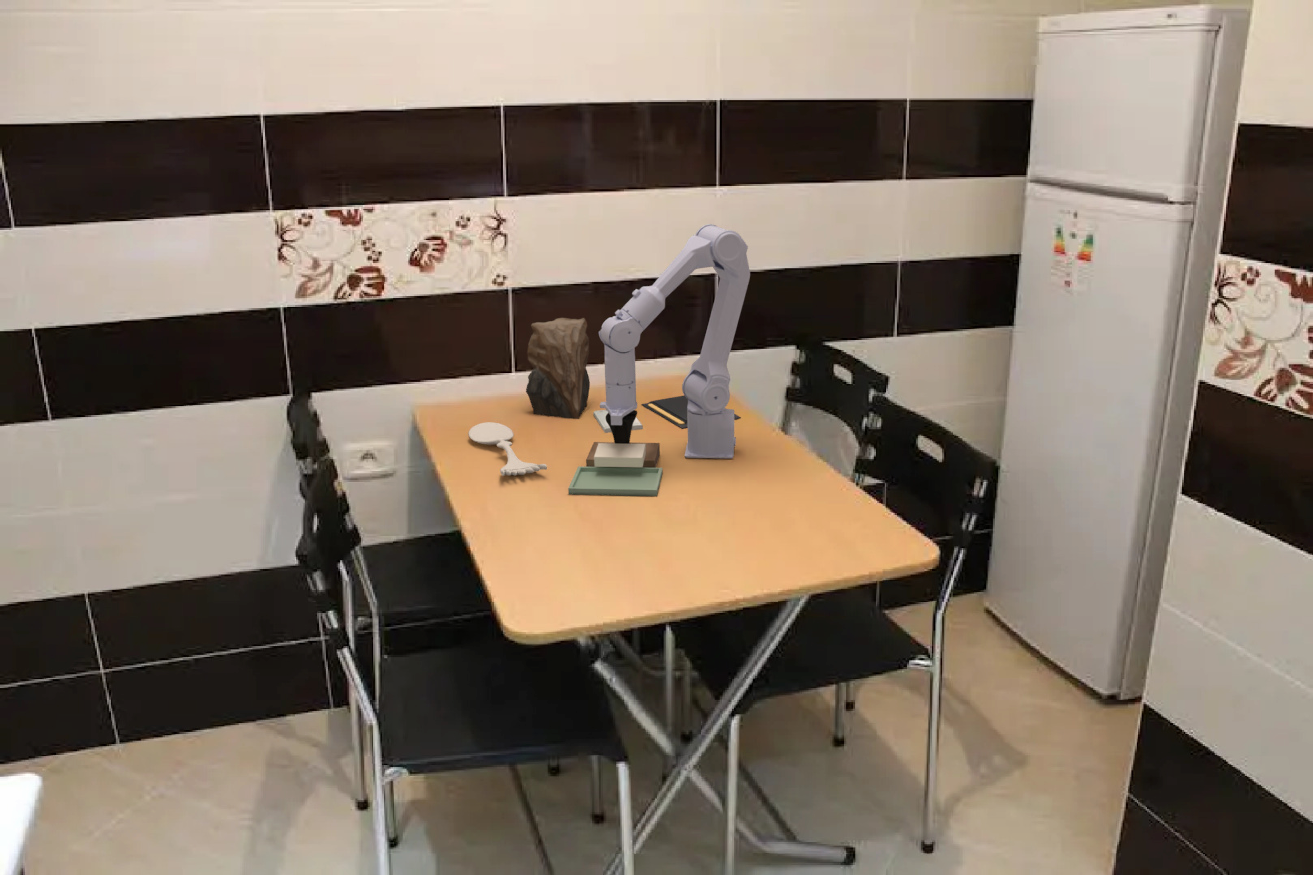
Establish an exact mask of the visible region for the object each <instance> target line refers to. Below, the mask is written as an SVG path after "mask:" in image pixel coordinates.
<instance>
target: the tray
mask: <svg viewBox="0 0 1313 875" xmlns="http://www.w3.org/2000/svg"><path fill="white" fill-rule="evenodd" d="M663 470H664V469H663V467H656V468H646V467H586V465H585V466H582V465H581V466H577V468H576V470H575V472H574V475H573V477H572V479H571V480H570V483H569V485H568V488H567V490H568V495H571V496H573V495H574V496H577V495H578V496H579V495H580V496H581V495H582V496H586V495H587V496H627V497H628V496H629V497H631V496H632V497H658V494H659V490H660V486H661V481H662V478H663V474H664V473H663Z"/></svg>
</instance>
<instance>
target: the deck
mask: <svg viewBox="0 0 1313 875" xmlns="http://www.w3.org/2000/svg"><path fill="white" fill-rule="evenodd" d="M598 443H615V442H614V441H594V442H593V444H592V446H591V448H590V450H589V452H588V453H587V457H586V459H585V467H595V466H594V455H595V452H596V449H597V446H598ZM629 444H646V455H645V459H644V463H643V467H646V468H658V467H657V466H658V462H659V458H660V454H661V448H660V442H631V441H630V443H629Z"/></svg>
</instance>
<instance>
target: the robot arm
mask: <svg viewBox="0 0 1313 875" xmlns="http://www.w3.org/2000/svg"><path fill="white" fill-rule="evenodd" d="M748 249H749V246H748V245H747V243H746V241H745V240H744V239H743V238H742V236H741V235H740V234H739V233H738V231H737V232H736V231H735V230H732V229H731V230H730V229H726V228H722V227H720V226H717V225H716V224H714V223H713V224H712V223H709V224H704V225H702V226H701V227H699V229H697V231H696V232H695V234H693V235H691V237H689V238H688V240H687V241H686V243H685V245H684V246H683V248H682V250H680V252H679V253H678V254H677V255H676V257H674V259H673V260H672V261H671V263H669V265H668V266H667V267H666V269H665V270H664V271H663V272H662V273H661V274H660V275H659V277H658V278H657V279H655V282H653V284H652V285H649V286H648V285H647V286H641V287H640V288H639V289H637V288H635V290H633V291H632V293H631V295H632V297H631V298H630V299H629V300H628V301H627V302H626V303H625V304H624V305H623V307H621V309H617V310H616V311H615V312H614V314H615V315H614V316H612V317H608V318H607V319H605V321H604V322H603V323H602V325H601V328H600V330H599V331H598V336H599V339H600V341H601V342H602V343H603V345H604V382H605V401H601V402H600V403H599V409H604V410H607V411H608V414H607V415H606V422H607V423H608V425H609V427H610V429H611V431H612V432H611V434H612V437H613V442H615V444H629V443H630V442H631V435H632V431H633V430H632V426H633V422H634V420H635V418H636V417H637V415H638V411H637V410H636V409H637V408H638V401H637V381H636V380H637V379H636V350H635V348H636V347H638V345H639V343H640V340H641V334H642V332H644V331H645V329H646V328H647V327H648V326H649V325H650V324H651V323H652V322H653V321H654V320H655V319H656V318H657V317H658V316H659V315H660V314H661V313H662V311H663V310H665V308H666V298H667V297H669V295H670V294H671V293H672V292H674V291H675V290H676V289H677V287H679V286H680V285H681V284H682V283H683V282H684V281H685V280H686V279H687V278H688V277H689V276H691V274H693V273H694V271H695V270H697V269H705V268H713V269H714V271H715V273H716V274H717V276H718V277H719V282H718V286H717V290H716V293H715V297H714V302H713V305H712V308H711V313H710V315H709V316H710V317H709V321H708V325H707V329H706V333H705V336H704V339H703V343H702V348H701V350H700V354H699V357H698V358H697V359H696V360H695V361H693V363H692V364H691V368H690V370H689V372H688V374H687V375H686V376H685V377H684V379H683V381H682V384H681V390H682V394H683V396H685V397H686V398H687V399H688V406H687V418H688V428H687V443H686V446H685V451H684V458H689V459H733V458H734V455H735V454H734V452H735V447H736V446H737V437H736V436H735V420H734V414H735V409H732V408H731V409H730V408H726V407H727V405H728V404H729V403H730V395H731V394H730V381H731V374H730V373H729V370H728V362H729V361H728V360H729V357H730V352H731V350H732V345H733V342H734V338H735V334H736V331H737V327H738V323H739V319H740V316H741V312H742V309H743V305H744V301H745V297H746V293H747V290H748V285H749V284H750V283H749V282H750V277H751V271H750V266H749V260H748V255H747V252H748Z"/></svg>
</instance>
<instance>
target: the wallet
mask: <svg viewBox="0 0 1313 875" xmlns="http://www.w3.org/2000/svg"><path fill="white" fill-rule="evenodd" d="M640 406H641V407H643V408H645V409H646V410H649V411H650V412H652V413H653V414H656V415H657V416H658V417H661V418H662V419H664V420H666V421H668V422H669V423H671V424H673V425H674V426H675V427H677V428H679V429H681V430H683V429H688V418H687V406H688V399H687V398H686V397H685V396H684V395H680V396H673V397H667V398H661V399H655V400H651V401H648V402H645V403H641V405H640ZM740 419H742V417H741V416H739V415H737V414H735V413H734V421H737V420H740Z"/></svg>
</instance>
